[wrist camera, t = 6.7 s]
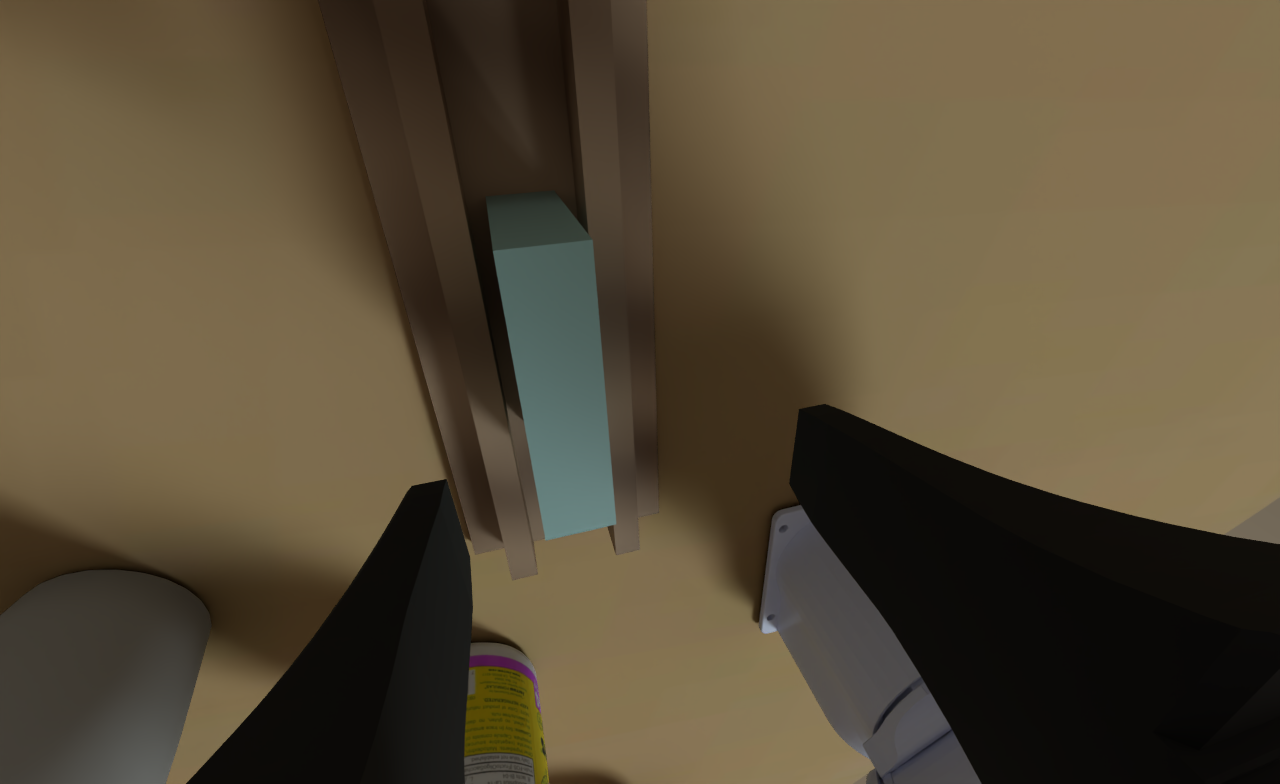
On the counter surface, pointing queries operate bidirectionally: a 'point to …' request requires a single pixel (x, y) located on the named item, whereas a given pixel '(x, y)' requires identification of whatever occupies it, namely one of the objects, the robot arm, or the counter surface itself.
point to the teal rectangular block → (556, 356)
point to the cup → (98, 678)
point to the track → (459, 226)
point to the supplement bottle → (503, 719)
